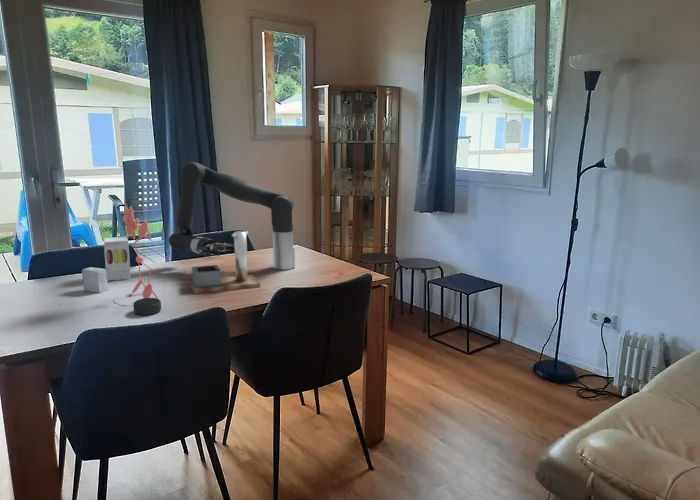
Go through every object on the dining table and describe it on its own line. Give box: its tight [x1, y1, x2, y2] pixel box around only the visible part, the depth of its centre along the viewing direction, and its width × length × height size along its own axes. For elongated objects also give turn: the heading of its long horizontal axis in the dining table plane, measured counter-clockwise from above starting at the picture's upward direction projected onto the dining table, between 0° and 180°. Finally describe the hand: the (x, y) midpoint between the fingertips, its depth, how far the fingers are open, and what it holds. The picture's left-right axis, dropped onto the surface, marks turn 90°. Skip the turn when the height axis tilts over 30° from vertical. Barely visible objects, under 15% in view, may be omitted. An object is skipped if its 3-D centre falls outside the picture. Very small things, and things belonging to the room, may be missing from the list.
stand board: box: [189, 274, 261, 294], centre depth 214 cm, size 26×14×2 cm, turn 112°
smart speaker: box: [132, 297, 162, 316], centre depth 182 cm, size 9×9×4 cm
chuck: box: [191, 264, 222, 288], centre depth 211 cm, size 10×10×6 cm
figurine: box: [113, 205, 159, 307], centre depth 192 cm, size 15×26×35 cm, turn 38°
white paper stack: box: [81, 266, 109, 294], centre depth 205 cm, size 8×4×9 cm, turn 71°
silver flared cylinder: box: [231, 230, 250, 282], centre depth 214 cm, size 8×5×20 cm, turn 142°
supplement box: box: [103, 236, 132, 282], centre depth 222 cm, size 10×9×17 cm
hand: (227, 251), depth 219 cm, fingers open, 8 cm apart
